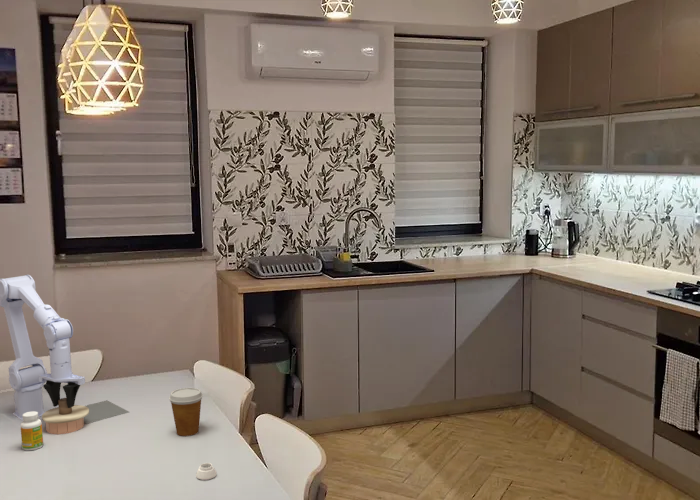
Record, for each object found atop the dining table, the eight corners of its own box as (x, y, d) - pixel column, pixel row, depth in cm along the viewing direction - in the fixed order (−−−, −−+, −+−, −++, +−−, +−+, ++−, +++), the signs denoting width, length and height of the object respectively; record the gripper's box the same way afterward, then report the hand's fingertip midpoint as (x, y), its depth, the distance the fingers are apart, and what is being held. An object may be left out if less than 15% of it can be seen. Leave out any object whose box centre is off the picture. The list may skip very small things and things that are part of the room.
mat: (64, 412, 226) (64, 411, 226) (107, 401, 236) (107, 400, 236) (86, 425, 215) (86, 423, 215) (129, 413, 224) (129, 411, 224)
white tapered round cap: (196, 482, 176) (216, 479, 177) (195, 470, 175) (216, 468, 176) (196, 473, 181) (216, 471, 182) (195, 462, 180) (215, 460, 181)
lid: (35, 415, 213) (34, 399, 212) (78, 404, 221) (77, 389, 221) (51, 426, 203) (50, 410, 203) (96, 415, 212) (95, 399, 211)
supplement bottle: (35, 451, 196) (32, 417, 195) (18, 450, 197) (15, 416, 196) (47, 444, 201) (44, 410, 200) (30, 442, 202) (27, 409, 201)
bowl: (41, 429, 212) (40, 416, 212) (75, 419, 219) (74, 407, 219) (55, 438, 205) (54, 424, 205) (89, 428, 212) (88, 415, 212)
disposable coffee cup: (211, 431, 208) (209, 391, 207) (183, 441, 201) (181, 400, 200) (192, 423, 215) (190, 385, 213) (164, 432, 208) (162, 393, 206)
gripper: (90, 359, 211) (93, 403, 213) (49, 356, 215) (52, 399, 217) (74, 366, 205) (78, 411, 206) (32, 362, 209) (36, 407, 210)
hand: (63, 406), depth 211 cm, fingers open, 4 cm apart
